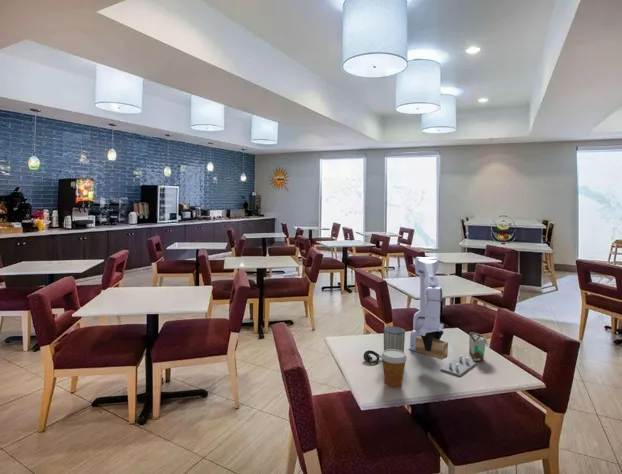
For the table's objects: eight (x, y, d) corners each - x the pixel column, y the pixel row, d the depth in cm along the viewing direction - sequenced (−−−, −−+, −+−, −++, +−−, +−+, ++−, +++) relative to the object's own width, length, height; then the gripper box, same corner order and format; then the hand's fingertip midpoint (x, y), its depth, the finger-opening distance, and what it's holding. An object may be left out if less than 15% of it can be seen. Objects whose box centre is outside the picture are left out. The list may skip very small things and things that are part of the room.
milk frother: (409, 365, 164) (410, 331, 163) (379, 372, 157) (380, 336, 156) (387, 353, 177) (388, 322, 176) (359, 359, 170) (360, 326, 168)
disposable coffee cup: (377, 378, 151) (378, 348, 150) (401, 378, 152) (402, 348, 151) (384, 390, 142) (385, 358, 141) (409, 389, 142) (410, 358, 141)
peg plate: (440, 370, 159) (440, 362, 159) (458, 359, 171) (458, 352, 171) (459, 376, 154) (459, 368, 153) (476, 364, 166) (476, 357, 165)
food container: (489, 364, 166) (490, 342, 165) (474, 363, 167) (475, 340, 166) (482, 354, 178) (483, 332, 177) (468, 352, 179) (469, 331, 178)
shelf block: (441, 359, 152) (442, 345, 151) (415, 351, 161) (415, 336, 160) (447, 357, 155) (448, 342, 154) (421, 348, 164) (421, 334, 163)
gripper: (431, 322, 149) (430, 356, 150) (450, 315, 158) (449, 347, 159) (415, 318, 154) (414, 351, 155) (435, 311, 164) (434, 342, 165)
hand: (431, 349), depth 158 cm, fingers closed on shelf block, 4 cm apart
